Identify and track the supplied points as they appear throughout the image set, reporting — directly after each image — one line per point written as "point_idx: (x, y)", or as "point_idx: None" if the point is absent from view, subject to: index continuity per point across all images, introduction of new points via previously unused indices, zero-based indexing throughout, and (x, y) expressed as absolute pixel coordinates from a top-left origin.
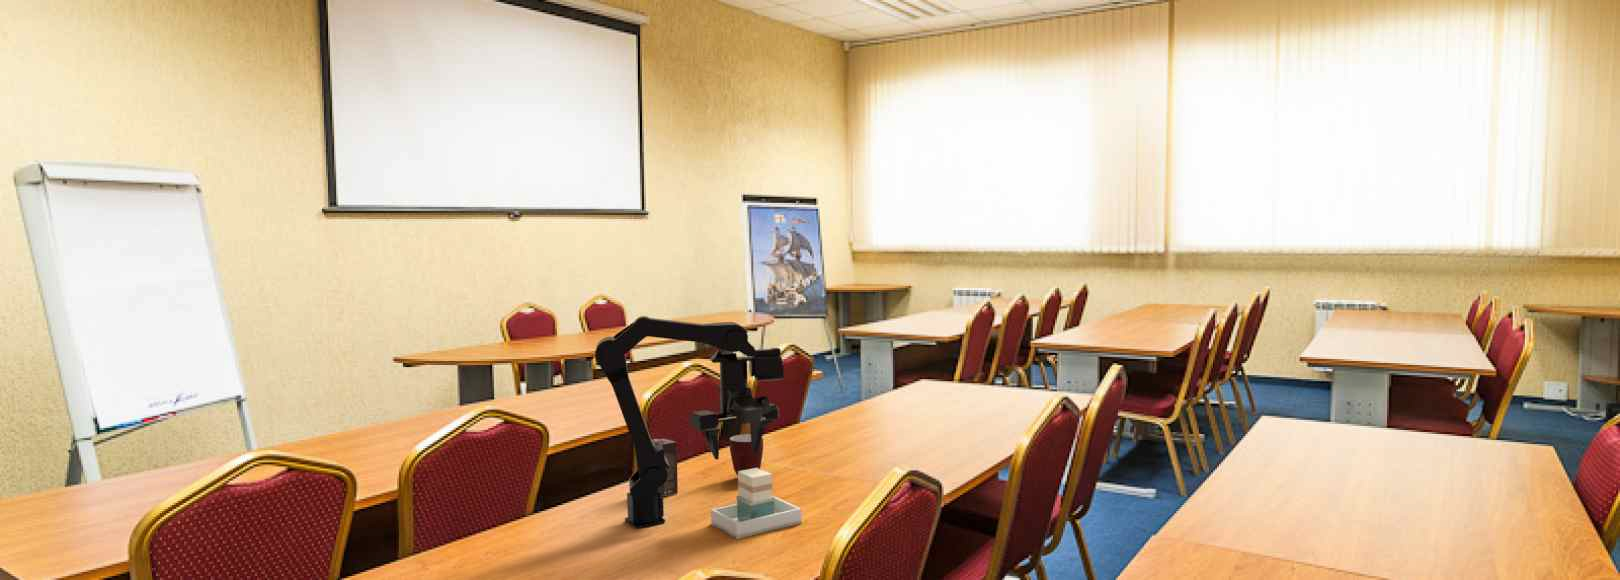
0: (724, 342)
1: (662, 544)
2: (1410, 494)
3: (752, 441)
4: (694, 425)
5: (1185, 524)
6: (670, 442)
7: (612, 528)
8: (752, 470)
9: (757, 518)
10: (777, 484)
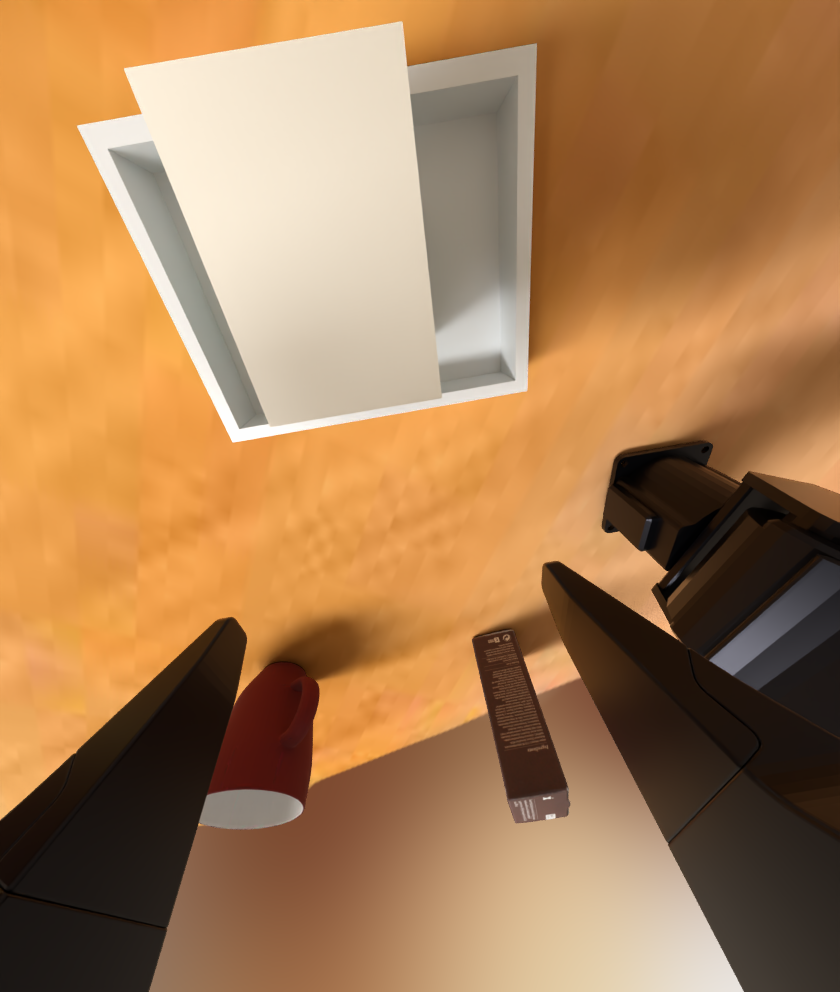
0: None
1: (765, 230)
2: None
3: (214, 723)
4: None
5: None
6: (530, 800)
7: (739, 474)
8: (323, 362)
9: None
10: (209, 624)
